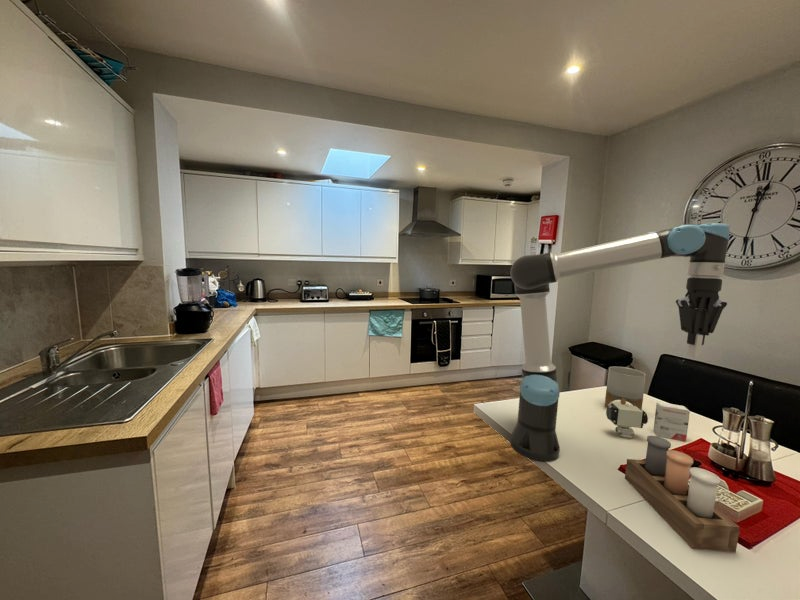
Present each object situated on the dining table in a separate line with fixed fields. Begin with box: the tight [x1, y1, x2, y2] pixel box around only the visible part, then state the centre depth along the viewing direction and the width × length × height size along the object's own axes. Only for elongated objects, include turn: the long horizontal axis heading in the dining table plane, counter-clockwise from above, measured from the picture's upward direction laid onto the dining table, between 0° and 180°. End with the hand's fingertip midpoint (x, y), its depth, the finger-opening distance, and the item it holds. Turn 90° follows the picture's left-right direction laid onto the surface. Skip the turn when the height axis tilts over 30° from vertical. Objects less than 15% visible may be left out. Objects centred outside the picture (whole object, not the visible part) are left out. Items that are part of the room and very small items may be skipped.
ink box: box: [653, 401, 691, 443], centre depth 116 cm, size 9×5×12 cm, turn 65°
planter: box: [604, 366, 647, 410], centre depth 136 cm, size 13×13×18 cm
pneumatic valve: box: [605, 402, 649, 439], centre depth 115 cm, size 6×12×12 cm, turn 79°
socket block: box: [624, 458, 741, 553], centre depth 80 cm, size 9×23×6 cm, turn 176°
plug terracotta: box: [664, 449, 694, 496], centre depth 79 cm, size 5×5×9 cm
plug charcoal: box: [645, 435, 672, 477], centre depth 86 cm, size 5×5×9 cm
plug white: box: [686, 466, 721, 519], centre depth 72 cm, size 5×5×9 cm
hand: (693, 355), depth 95 cm, fingers closed
